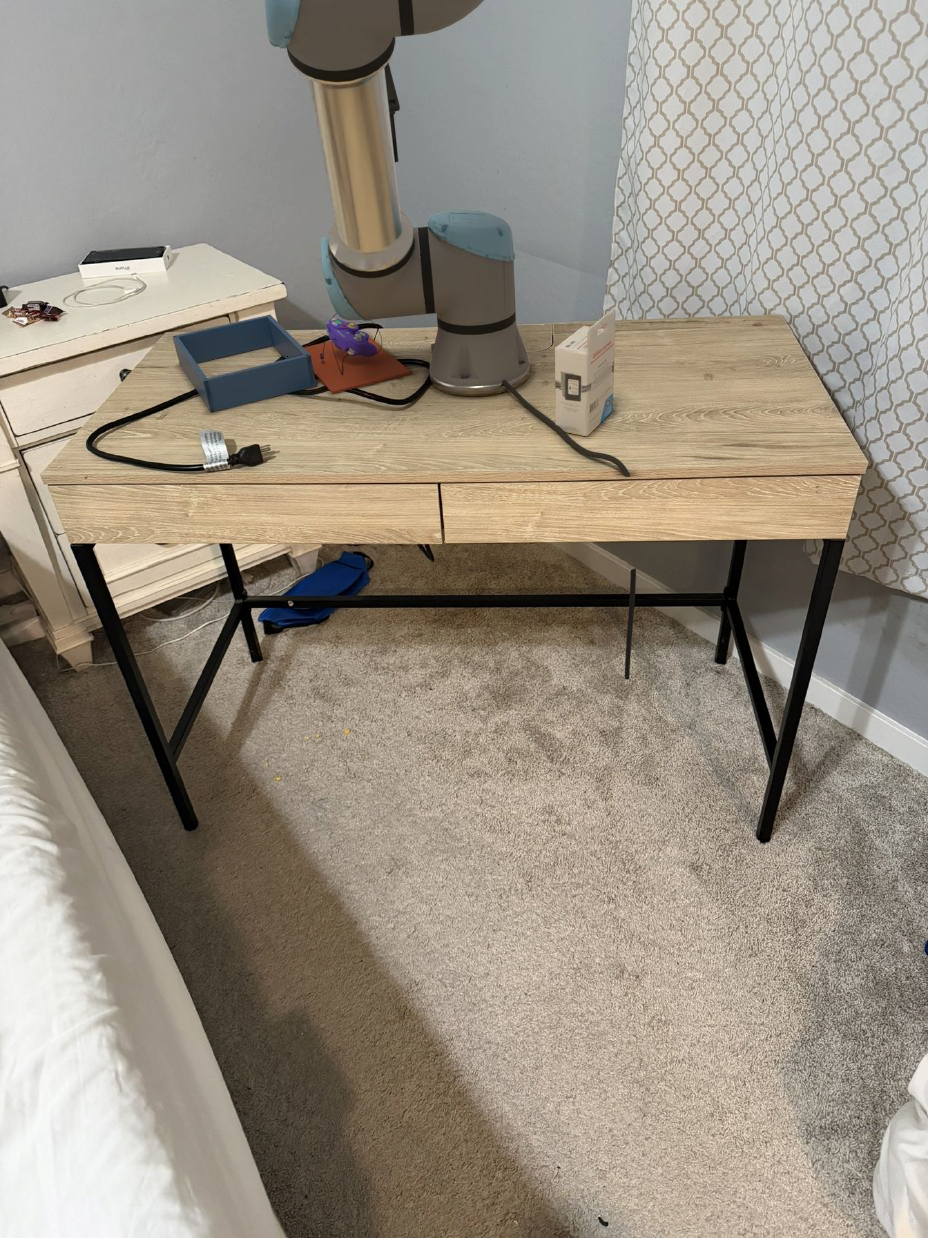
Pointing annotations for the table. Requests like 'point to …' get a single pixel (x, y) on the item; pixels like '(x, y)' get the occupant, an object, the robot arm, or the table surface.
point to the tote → (248, 381)
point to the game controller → (349, 339)
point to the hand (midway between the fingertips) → (372, 155)
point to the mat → (353, 367)
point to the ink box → (585, 377)
